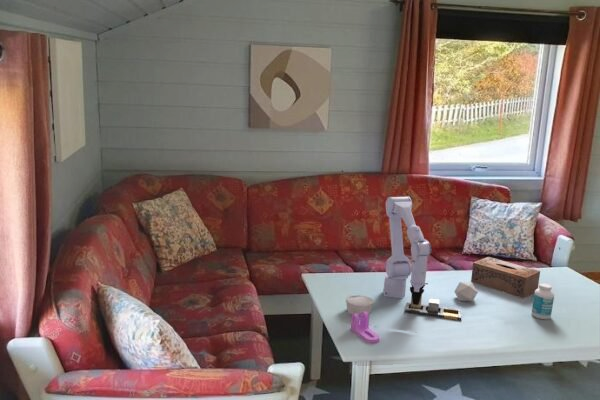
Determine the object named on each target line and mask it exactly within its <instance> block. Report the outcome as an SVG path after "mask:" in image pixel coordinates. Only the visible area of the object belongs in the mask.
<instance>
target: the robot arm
mask: <svg viewBox="0 0 600 400" xmlns="http://www.w3.org/2000/svg"><path fill="white" fill-rule="evenodd" d="M412 209H413V201H412V199H411V197H410V196H408V195H407V196H389V197H387V199H386V200H385V213H386V216H387V217H388V221H389V222H388V223H389V235H390V243H391V244H390V245H391V256H390V257H388V258H387V259H386V266H385V272H386V275H385V276H384V281H383V282H384V283H383V291H382V292H383V295H382V296H384V297H391V298H394V299H403V298H405V297H406V291H407V290H406V289H407V279H409V277H411V278H410V281H409V283H410V285H411V286H409V292H410V295H411V296H412V301H413V304H415V305H418V304H419V301H420V298H421V295H422V296H423V293H424V292H425V289H424V288H425V286H426V285H429V281H427V280H426V278H427V277H426V276H427V267H428V266H427V265H428V256H430V255H431V253H432V245H431V243H430V242H429V240H427V239H425V237H424V234H423V231H422V230H421V227H420V226H419V225H416V221H415V218H414V216H413V215H414V214H413V212H412ZM402 220H403V222H404V225H405V226H406V228H407V229H406V234H407V237H408V239H409V242H410V245H411V246H410V253H411V260H412V261H411V262H412V264H411V262H410V258H408V257H407V256H406V255H405V252H404V238H403V228H402Z"/></svg>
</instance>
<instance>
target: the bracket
mask: <svg viewBox="0 0 600 400" xmlns="http://www.w3.org/2000/svg"><path fill="white" fill-rule="evenodd" d="M350 315H351V314H350ZM369 324H370V315H369V314H368V313H367V312H362V313H361V316H359V315H358V314H357V313H355V314H352V315H351V316H350V327H349V328H350V330H351V331H352V332H353V331H354V332H353V333H354V334H356V335H357V334H358V335H359V336H358V335H357V336H358V337H359V338H361V339H362V340H363V339H364V340H363V341H365V342H366V343H369V344H377V343H379V342H380V335H379V334H378V333H376V332H375V331H373V330H372V329H371V328H370V327H369V326H370V325H369Z"/></svg>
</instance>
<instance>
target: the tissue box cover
mask: <svg viewBox="0 0 600 400" xmlns="http://www.w3.org/2000/svg"><path fill="white" fill-rule="evenodd" d="M540 276H541V270H538V269H534V268H531V267H527V266H523V265H520V264H518V263H517V264H516V263H513V262H509V261H505V260H503V259H502V260H501V259H499V258H494V257H491V256H487V257H483V258H481V259H479V260H476V261H474V262H472V269H471V277H470V282H472V284H476V285H480V286H483V287H487V288H489V289H492V290H495V291H497V292H498V291H499V292H501V293H505V294H508V295H512V296H515V297H518V298H520V299H525V298H527V297H529V296H530V295H533V294H534V293H535V290H536V289H538V288H539V284H540Z"/></svg>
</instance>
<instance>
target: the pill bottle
mask: <svg viewBox="0 0 600 400" xmlns="http://www.w3.org/2000/svg"><path fill="white" fill-rule="evenodd" d="M552 288H553V287H552V285H551V284H548V283H543V282H541V283H539V284H538V289H536V290H535V293H533V294H534V295H533V300H532V305H531V306H532V309H531V315H532V316H533V317H535V318H536V319H539V318H540V320H549V319H551V317H552V312H553V305H554V299H555V293H554V291H552Z"/></svg>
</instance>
